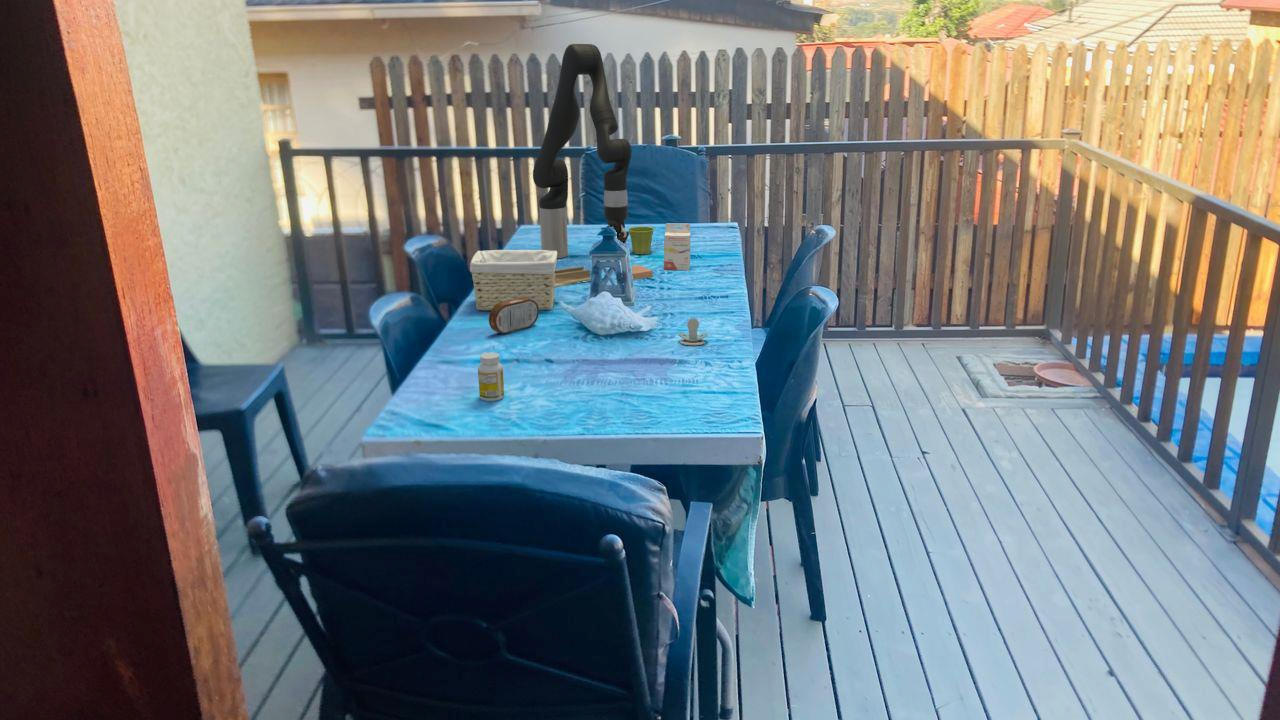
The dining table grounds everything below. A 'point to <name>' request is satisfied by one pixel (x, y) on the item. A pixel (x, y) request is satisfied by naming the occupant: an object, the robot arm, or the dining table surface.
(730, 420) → the dining table surface
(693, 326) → the pacifier
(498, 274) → the storage basket
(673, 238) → the ink cartridge box
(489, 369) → the supplement bottle
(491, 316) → the tin
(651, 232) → the plant pot
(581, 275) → the holder
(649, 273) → the cover plate
